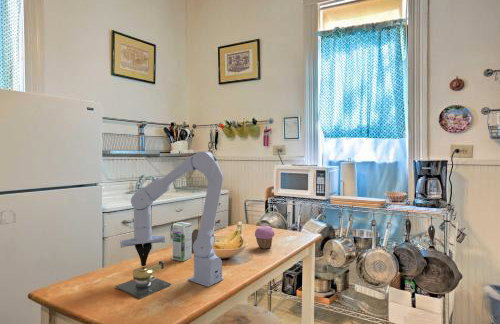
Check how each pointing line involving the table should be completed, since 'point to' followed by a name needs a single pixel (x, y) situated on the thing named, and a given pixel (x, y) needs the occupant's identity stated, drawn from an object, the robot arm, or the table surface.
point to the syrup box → (182, 241)
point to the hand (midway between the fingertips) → (143, 265)
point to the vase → (194, 236)
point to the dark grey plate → (143, 286)
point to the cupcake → (264, 236)
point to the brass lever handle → (147, 271)
